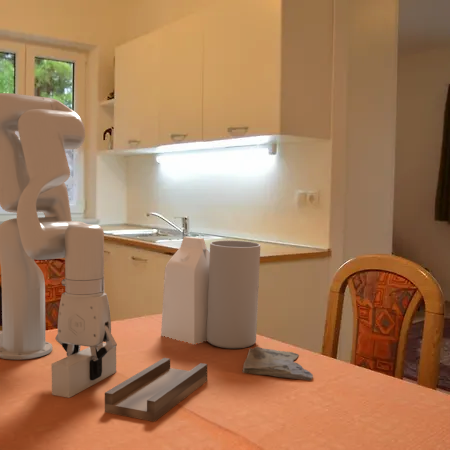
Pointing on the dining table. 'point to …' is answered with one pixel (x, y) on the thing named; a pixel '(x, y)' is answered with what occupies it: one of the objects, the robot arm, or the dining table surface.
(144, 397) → the brown long channel piece
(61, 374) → the beige rectangular block
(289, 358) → the fossil rock
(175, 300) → the milk
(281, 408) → the dining table surface
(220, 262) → the cylinder vase
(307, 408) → the dining table surface
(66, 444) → the dining table surface
